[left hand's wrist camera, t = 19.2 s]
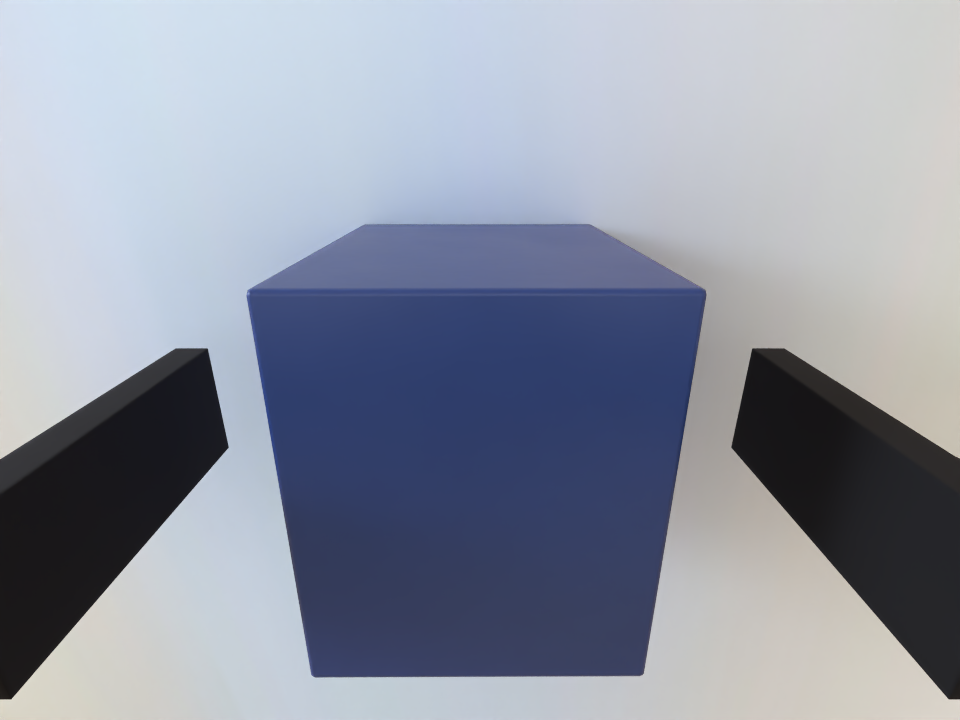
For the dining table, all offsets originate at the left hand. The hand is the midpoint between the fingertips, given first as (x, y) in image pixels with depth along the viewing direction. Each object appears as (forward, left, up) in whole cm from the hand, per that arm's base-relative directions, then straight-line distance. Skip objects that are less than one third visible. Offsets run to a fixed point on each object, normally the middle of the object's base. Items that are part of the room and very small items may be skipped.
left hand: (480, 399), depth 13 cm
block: (0, 0, -4) cm, 4 cm away
